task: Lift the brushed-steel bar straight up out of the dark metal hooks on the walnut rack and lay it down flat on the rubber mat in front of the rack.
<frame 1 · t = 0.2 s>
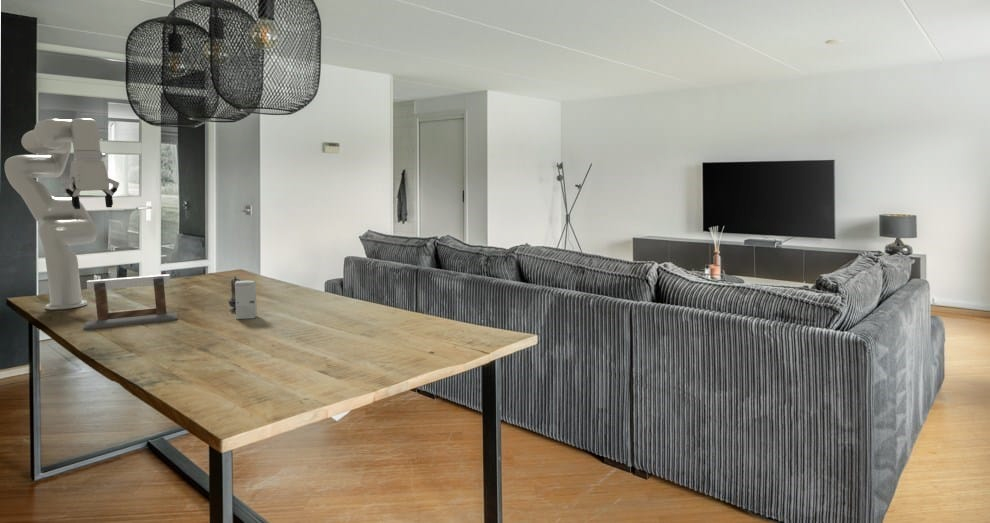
hand: (93, 208, 210), 36 cm above the table, tool pointing down, fingers open, 9 cm apart
skincare box: (247, 318, 207), on the table
mat: (132, 321, 202), on the table
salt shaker: (237, 310, 218), on the table
rail: (130, 286, 210), point 10 cm above the table, touching rack
rack: (133, 315, 211), on the table
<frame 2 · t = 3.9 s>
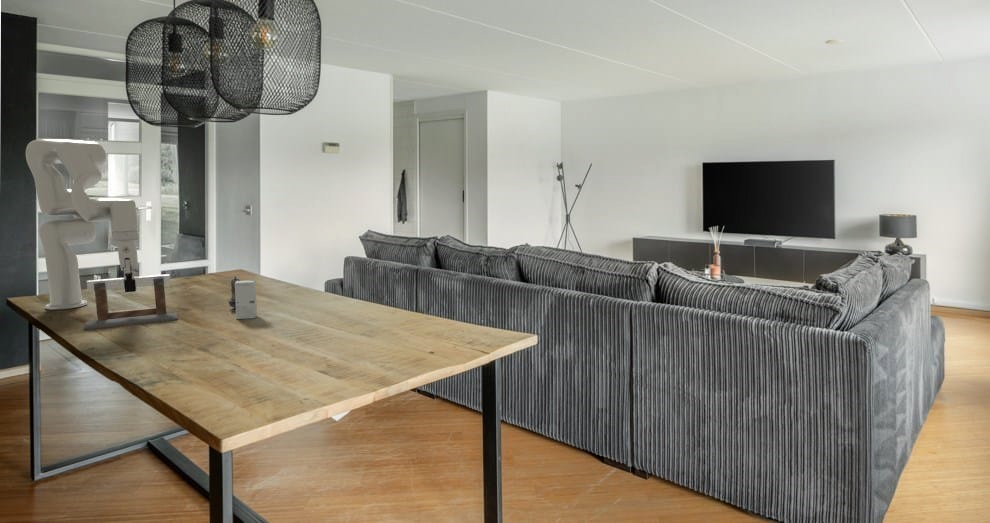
hand: (130, 290, 210), 9 cm above the table, tool pointing down, fingers closed on rail, 3 cm apart
rail: (130, 286, 210), point 10 cm above the table, touching gripper, rack
everything else where it was.
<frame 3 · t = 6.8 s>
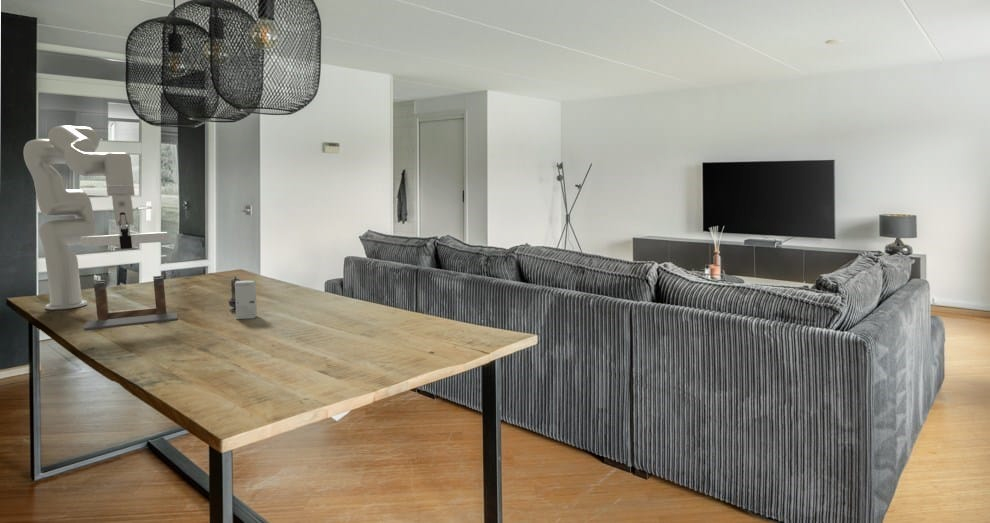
hand: (126, 247, 203), 24 cm above the table, tool pointing down, fingers closed on rail, 3 cm apart
rail: (126, 243, 203), point 25 cm above the table, touching gripper
everything else where it was.
when the fingers open (1 cm above the table, at t = 10.2 s): rail drops 2 cm, resting on mat.
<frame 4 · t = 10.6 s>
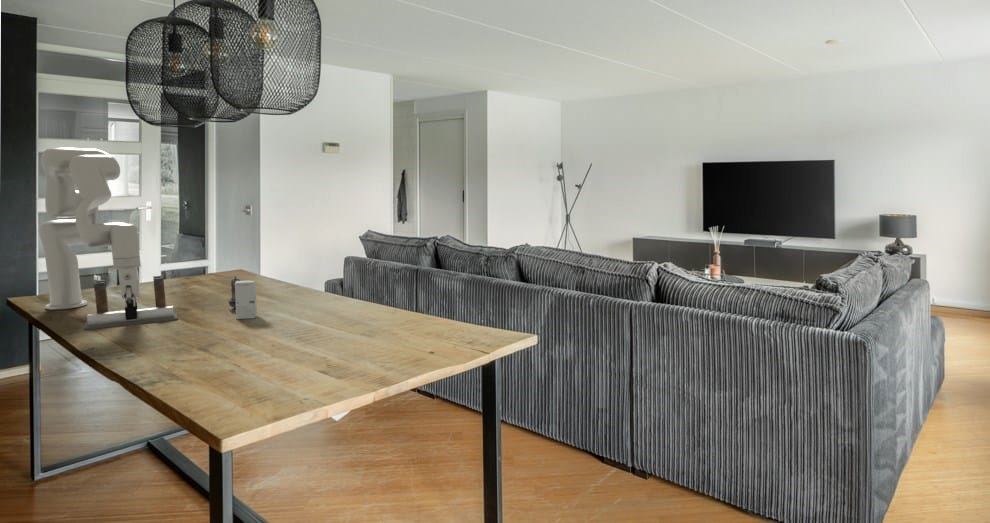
hand: (131, 316, 202), 2 cm above the table, tool pointing down, fingers open, 7 cm apart
rail: (132, 319, 202), point 1 cm above the table, touching mat
everything else where it was.
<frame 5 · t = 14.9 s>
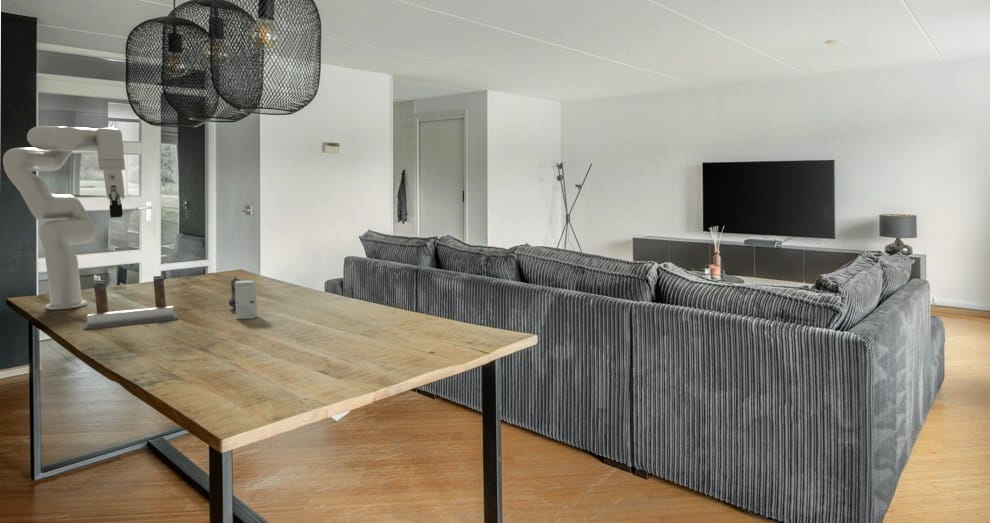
hand: (116, 216, 212), 33 cm above the table, tool pointing down, fingers open, 9 cm apart
nothing on the table moved.
at the end: rail inside the target area on the mat (0.1 cm from its centre), point 0.6 cm above the mat's base; rail touching mat; rail tilted 0° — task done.
